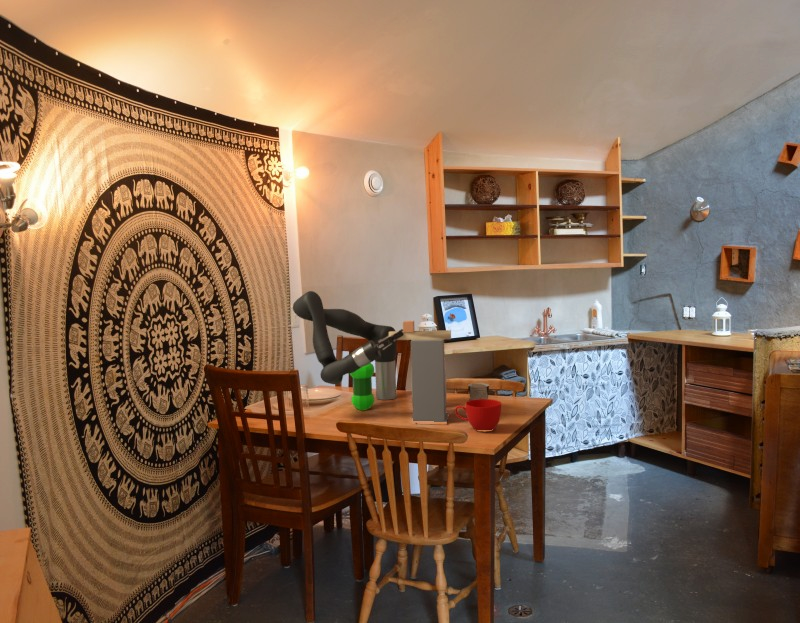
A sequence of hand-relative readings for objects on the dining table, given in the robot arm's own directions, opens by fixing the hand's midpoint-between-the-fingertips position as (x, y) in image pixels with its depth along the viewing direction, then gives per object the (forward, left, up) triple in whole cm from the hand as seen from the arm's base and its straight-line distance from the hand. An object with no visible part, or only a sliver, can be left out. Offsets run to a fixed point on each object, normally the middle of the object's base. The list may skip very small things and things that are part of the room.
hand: (402, 331), depth 244 cm
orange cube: (0, +2, 0) cm, 2 cm away
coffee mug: (-19, +29, -35) cm, 49 cm away
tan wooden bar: (0, +7, -3) cm, 7 cm away
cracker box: (-23, +8, -35) cm, 43 cm away
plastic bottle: (-18, -20, -35) cm, 44 cm away
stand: (0, +10, -35) cm, 36 cm away
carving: (-8, +29, -35) cm, 46 cm away
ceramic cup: (+14, +29, -35) cm, 47 cm away
